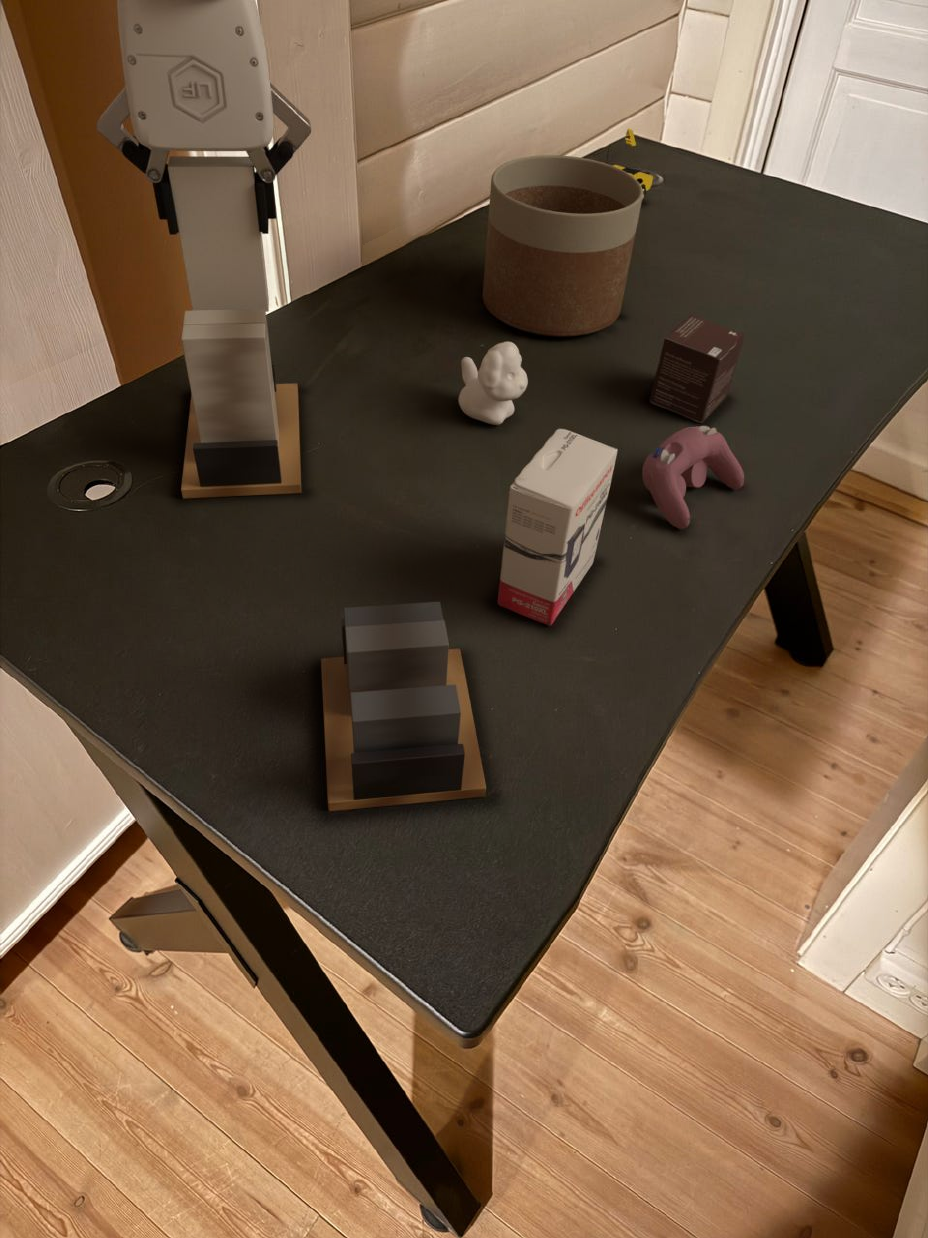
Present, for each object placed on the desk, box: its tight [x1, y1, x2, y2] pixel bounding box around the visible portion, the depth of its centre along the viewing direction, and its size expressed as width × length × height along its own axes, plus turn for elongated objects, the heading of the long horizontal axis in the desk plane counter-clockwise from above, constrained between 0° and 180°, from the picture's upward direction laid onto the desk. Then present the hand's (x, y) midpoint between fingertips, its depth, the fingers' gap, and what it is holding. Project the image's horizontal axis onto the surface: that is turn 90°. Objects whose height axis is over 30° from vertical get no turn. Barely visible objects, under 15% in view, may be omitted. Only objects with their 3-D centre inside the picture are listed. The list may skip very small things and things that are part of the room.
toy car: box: [605, 128, 654, 202], centre depth 123 cm, size 12×8×8 cm, turn 145°
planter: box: [482, 154, 643, 338], centre depth 99 cm, size 16×16×14 cm
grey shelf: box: [320, 601, 487, 812], centre depth 59 cm, size 10×12×8 cm
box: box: [649, 314, 746, 424], centre depth 89 cm, size 6×6×7 cm
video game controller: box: [641, 425, 745, 530], centre depth 79 cm, size 10×5×7 cm, turn 135°
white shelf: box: [180, 309, 303, 499], centre depth 78 cm, size 10×16×13 cm, turn 8°
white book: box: [167, 155, 270, 313], centre depth 75 cm, size 6×2×12 cm, turn 98°
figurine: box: [457, 341, 529, 426], centre depth 85 cm, size 5×8×8 cm
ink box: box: [497, 428, 618, 627], centre depth 68 cm, size 8×5×12 cm, turn 151°
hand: (220, 225), depth 74 cm, fingers closed on white book, 6 cm apart
